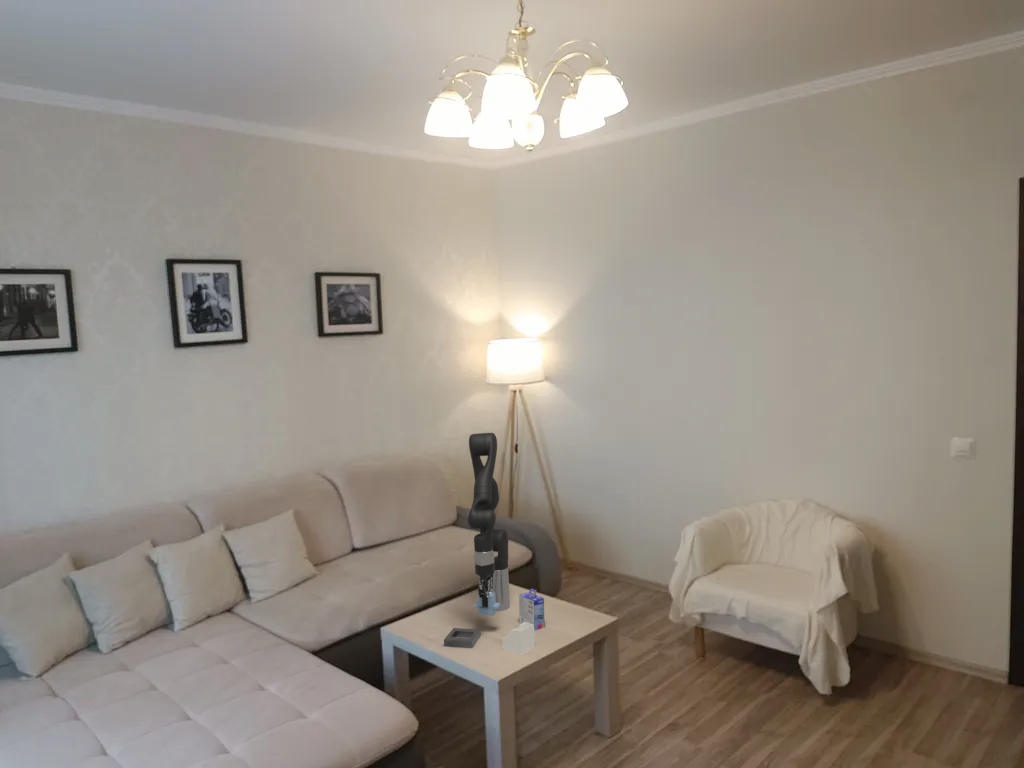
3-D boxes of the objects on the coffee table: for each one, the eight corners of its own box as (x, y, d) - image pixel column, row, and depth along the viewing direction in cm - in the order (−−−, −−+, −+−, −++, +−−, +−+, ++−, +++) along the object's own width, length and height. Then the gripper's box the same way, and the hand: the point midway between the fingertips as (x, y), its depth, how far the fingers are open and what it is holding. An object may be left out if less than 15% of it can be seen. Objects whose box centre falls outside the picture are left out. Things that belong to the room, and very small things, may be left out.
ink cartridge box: (545, 628, 276) (544, 591, 275) (534, 632, 272) (533, 595, 272) (530, 621, 284) (528, 585, 283) (519, 624, 280) (517, 588, 279)
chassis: (453, 634, 274) (453, 627, 274) (481, 635, 271) (480, 629, 271) (444, 646, 263) (443, 639, 263) (472, 648, 261) (472, 641, 261)
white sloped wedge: (544, 640, 265) (543, 617, 265) (522, 655, 253) (521, 632, 252) (525, 635, 270) (524, 613, 270) (502, 650, 258) (501, 627, 257)
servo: (477, 610, 277) (475, 589, 277) (500, 611, 275) (499, 590, 274) (474, 614, 273) (472, 593, 273) (498, 615, 271) (496, 594, 270)
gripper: (480, 554, 280) (482, 597, 282) (469, 567, 267) (472, 611, 268) (498, 555, 279) (501, 597, 280) (488, 567, 265) (491, 612, 266)
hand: (486, 604), depth 274 cm, fingers closed on servo, 4 cm apart
